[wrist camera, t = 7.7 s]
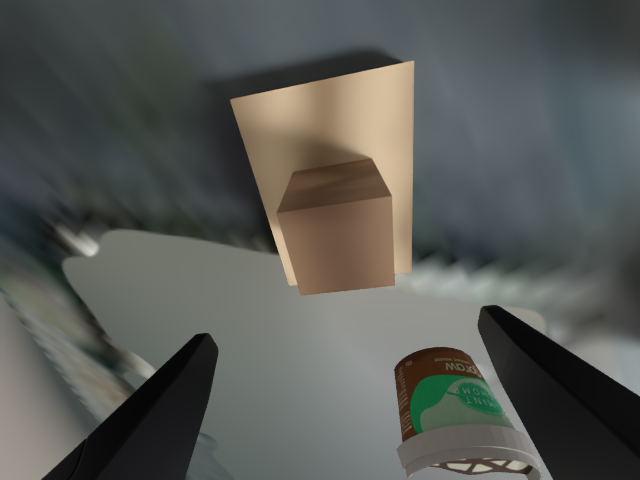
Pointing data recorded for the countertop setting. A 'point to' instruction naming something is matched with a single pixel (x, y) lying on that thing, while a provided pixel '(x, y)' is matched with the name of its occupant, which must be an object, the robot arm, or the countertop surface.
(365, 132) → the oak base
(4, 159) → the countertop surface
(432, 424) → the food container
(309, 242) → the walnut block
